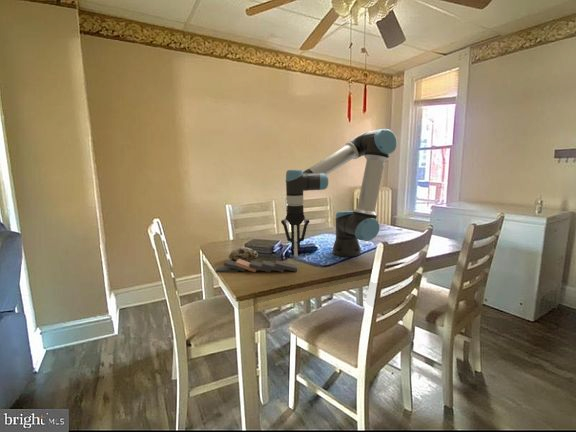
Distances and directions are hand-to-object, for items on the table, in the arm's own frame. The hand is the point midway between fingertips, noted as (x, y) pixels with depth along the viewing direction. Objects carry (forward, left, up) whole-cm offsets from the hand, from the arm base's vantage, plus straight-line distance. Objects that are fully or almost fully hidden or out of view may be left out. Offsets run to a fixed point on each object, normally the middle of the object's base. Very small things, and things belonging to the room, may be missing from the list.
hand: (295, 255), depth 140 cm
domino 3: (+18, 0, -6) cm, 19 cm away
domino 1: (+27, 0, -7) cm, 28 cm away
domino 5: (+6, 0, -6) cm, 8 cm away
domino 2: (+23, 0, -6) cm, 24 cm away
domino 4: (+12, 0, -6) cm, 13 cm away
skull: (+27, -12, -7) cm, 30 cm away
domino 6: (0, 0, -6) cm, 6 cm away
